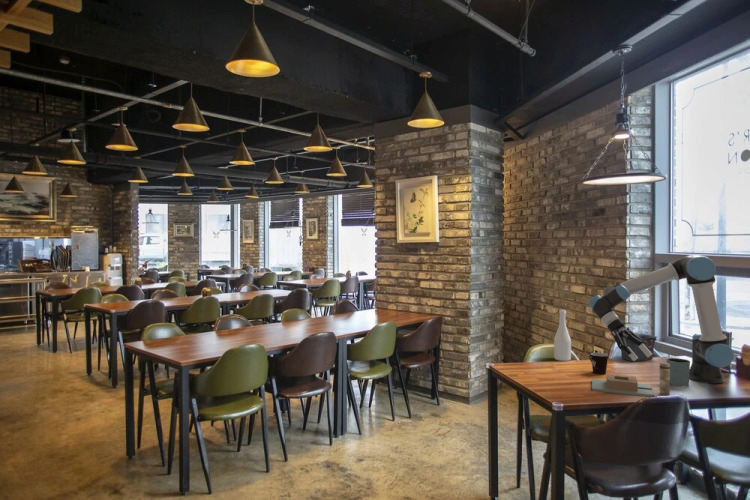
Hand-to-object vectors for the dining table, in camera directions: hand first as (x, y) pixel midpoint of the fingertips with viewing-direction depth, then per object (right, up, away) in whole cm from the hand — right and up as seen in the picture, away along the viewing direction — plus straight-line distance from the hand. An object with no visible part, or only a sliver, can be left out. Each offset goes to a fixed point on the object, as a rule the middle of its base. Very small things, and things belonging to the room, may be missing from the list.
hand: (643, 357), depth 238 cm
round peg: (+6, -15, -8) cm, 18 cm away
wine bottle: (-16, -15, +61) cm, 65 cm away
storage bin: (+30, -15, +61) cm, 69 cm away
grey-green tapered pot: (+22, -15, +8) cm, 28 cm away
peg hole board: (-10, -15, +1) cm, 18 cm away
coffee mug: (-7, -15, +31) cm, 35 cm away
